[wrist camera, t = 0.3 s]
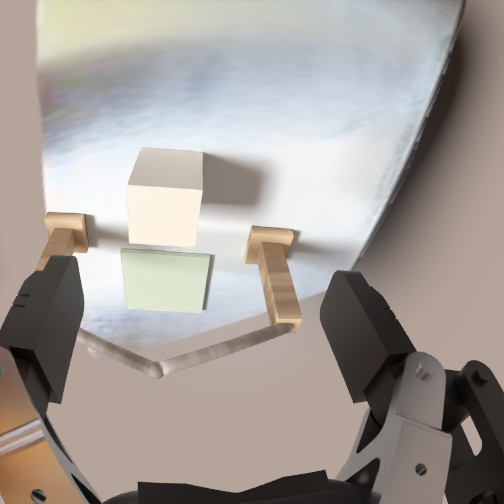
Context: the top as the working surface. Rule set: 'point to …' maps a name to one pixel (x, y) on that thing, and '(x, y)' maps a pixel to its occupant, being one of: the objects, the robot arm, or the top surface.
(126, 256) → the mat
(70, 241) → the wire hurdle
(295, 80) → the top surface
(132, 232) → the cream block
